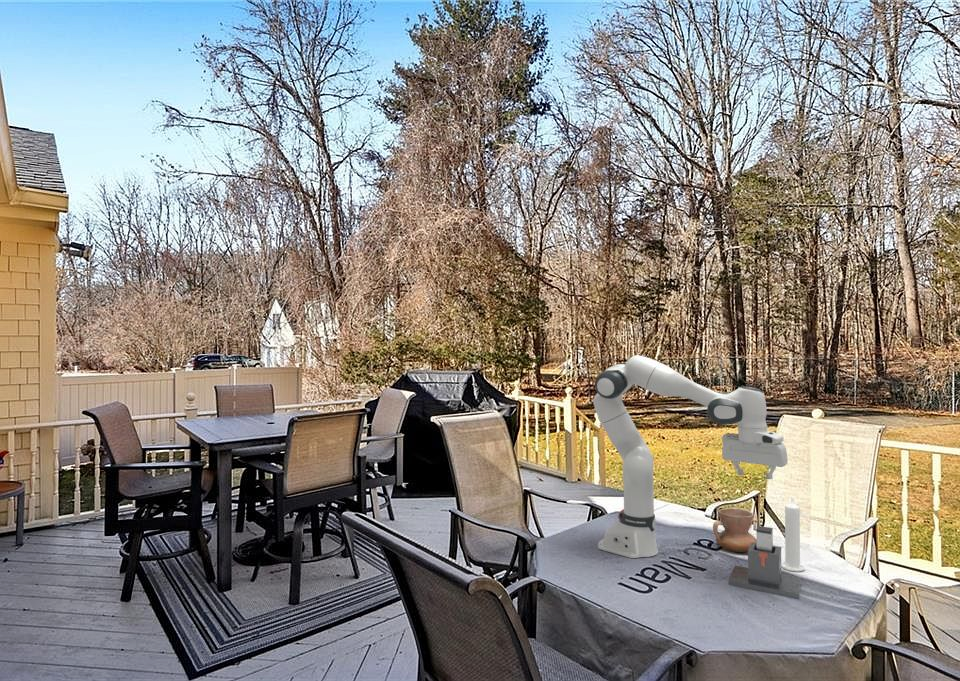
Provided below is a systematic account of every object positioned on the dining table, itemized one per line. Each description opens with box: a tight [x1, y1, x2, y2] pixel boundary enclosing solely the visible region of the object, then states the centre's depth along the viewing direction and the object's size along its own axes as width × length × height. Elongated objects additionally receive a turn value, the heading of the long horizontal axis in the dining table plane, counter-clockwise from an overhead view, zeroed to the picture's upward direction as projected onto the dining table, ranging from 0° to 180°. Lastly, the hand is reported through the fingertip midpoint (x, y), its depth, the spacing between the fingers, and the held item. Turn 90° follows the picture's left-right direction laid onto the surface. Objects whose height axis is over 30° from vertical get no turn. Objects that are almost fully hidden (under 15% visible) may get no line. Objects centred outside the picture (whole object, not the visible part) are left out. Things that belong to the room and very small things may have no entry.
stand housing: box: [728, 542, 802, 599], centre depth 187 cm, size 20×14×12 cm
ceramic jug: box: [712, 507, 758, 553], centre depth 218 cm, size 18×14×14 cm
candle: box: [781, 496, 805, 573], centre depth 199 cm, size 7×7×25 cm
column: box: [755, 525, 774, 553], centre depth 187 cm, size 5×5×16 cm
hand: (754, 476), depth 190 cm, fingers open, 8 cm apart
